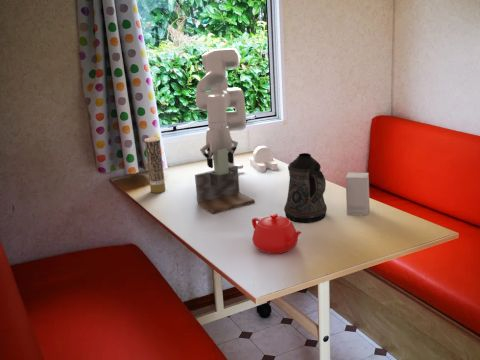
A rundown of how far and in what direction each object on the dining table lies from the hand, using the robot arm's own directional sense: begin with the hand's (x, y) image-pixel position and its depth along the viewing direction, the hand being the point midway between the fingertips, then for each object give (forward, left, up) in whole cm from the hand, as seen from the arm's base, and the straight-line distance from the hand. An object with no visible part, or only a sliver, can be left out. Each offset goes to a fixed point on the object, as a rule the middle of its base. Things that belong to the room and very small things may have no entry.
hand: (220, 165), depth 233 cm
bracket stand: (0, +2, -17) cm, 17 cm away
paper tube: (+16, -34, -17) cm, 41 cm away
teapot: (+8, +52, -17) cm, 55 cm away
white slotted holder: (-42, -34, -17) cm, 57 cm away
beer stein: (-18, +36, -17) cm, 44 cm away
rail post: (0, 0, -8) cm, 8 cm away
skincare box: (-35, +45, -17) cm, 59 cm away
